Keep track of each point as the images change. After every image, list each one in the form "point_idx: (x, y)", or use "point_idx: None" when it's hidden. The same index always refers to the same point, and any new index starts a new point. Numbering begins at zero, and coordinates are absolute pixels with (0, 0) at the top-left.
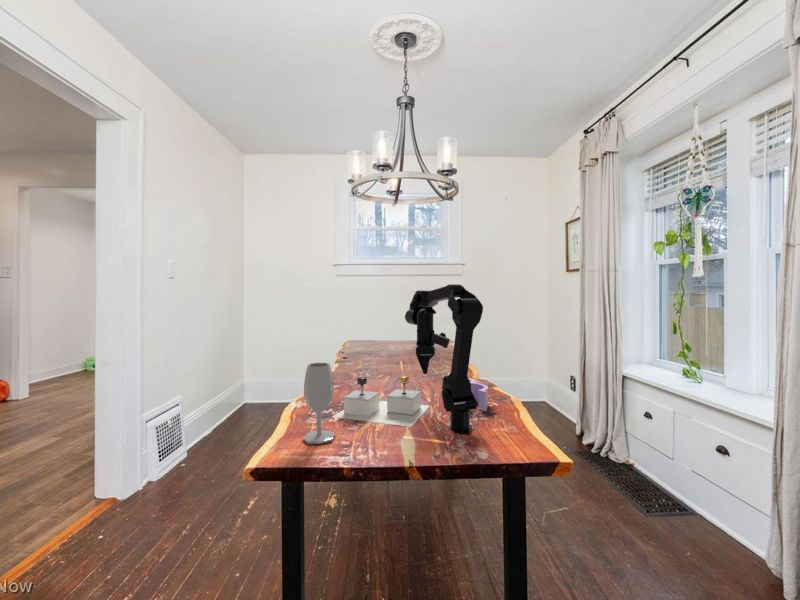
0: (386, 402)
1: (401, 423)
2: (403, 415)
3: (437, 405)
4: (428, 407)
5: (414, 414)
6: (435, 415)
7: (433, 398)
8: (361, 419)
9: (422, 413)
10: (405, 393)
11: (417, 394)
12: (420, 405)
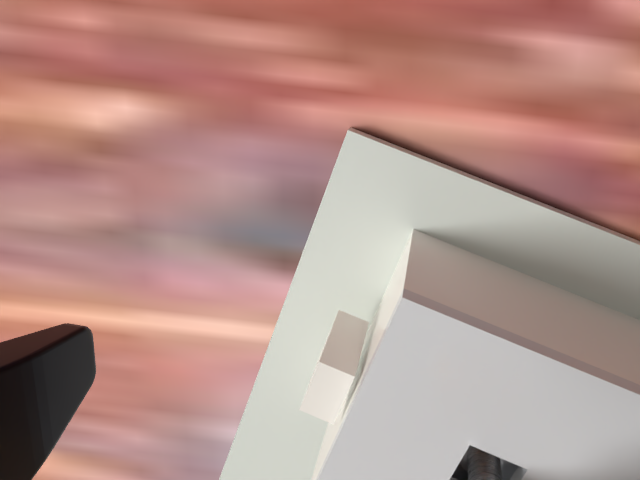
0: (257, 469)
1: None
2: None
3: (286, 43)
4: (406, 153)
5: (607, 305)
6: (611, 102)
7: (62, 59)
8: None
9: (590, 232)
10: (493, 469)
11: (532, 348)
12: (414, 238)
